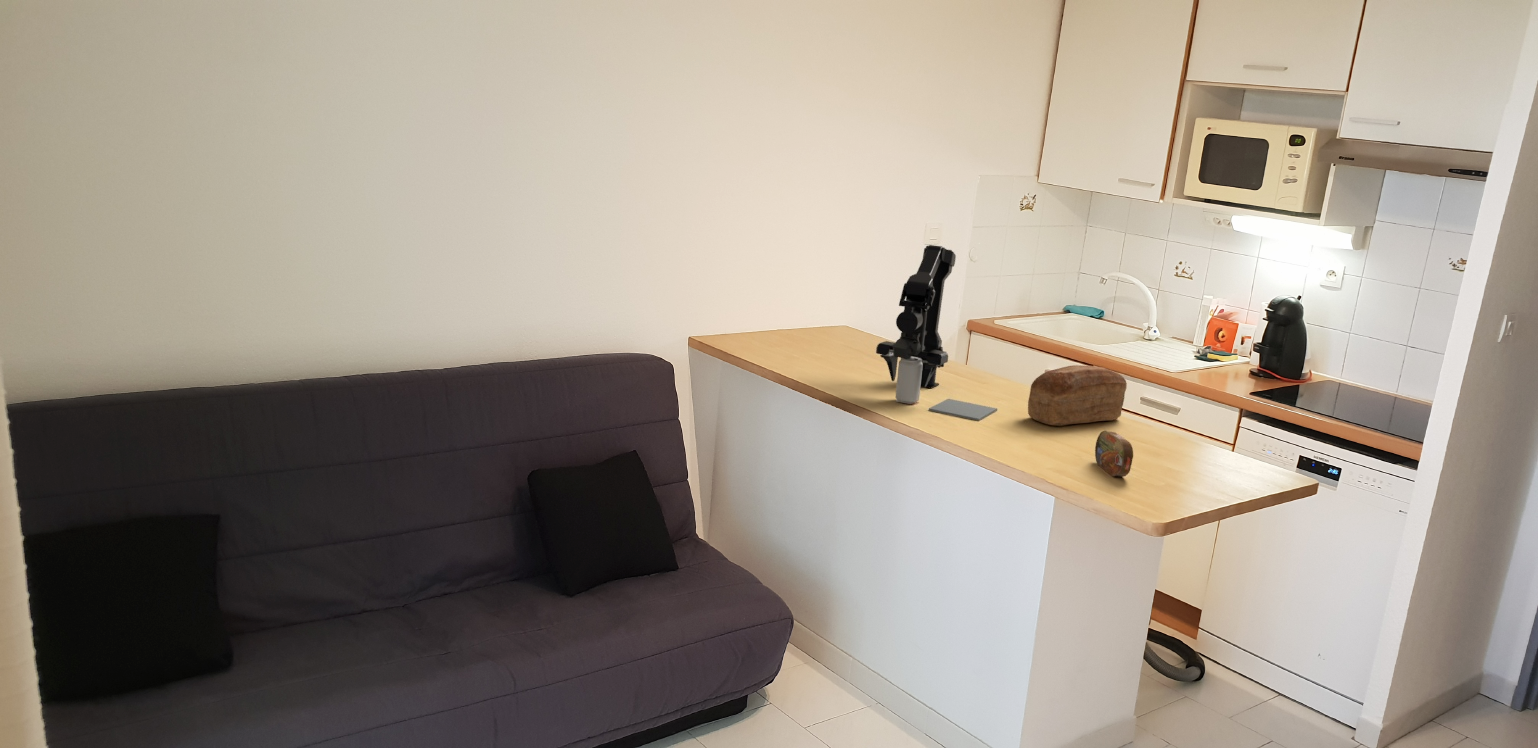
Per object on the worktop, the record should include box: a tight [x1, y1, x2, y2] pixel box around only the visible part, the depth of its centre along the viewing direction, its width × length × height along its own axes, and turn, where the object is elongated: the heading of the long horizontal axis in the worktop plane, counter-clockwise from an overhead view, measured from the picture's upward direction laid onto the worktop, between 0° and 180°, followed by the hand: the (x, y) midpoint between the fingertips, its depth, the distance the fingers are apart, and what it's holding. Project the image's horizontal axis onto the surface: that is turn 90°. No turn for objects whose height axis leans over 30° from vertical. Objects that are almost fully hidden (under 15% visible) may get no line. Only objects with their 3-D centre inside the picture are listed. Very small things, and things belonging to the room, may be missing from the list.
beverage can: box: [895, 356, 923, 405], centre depth 287 cm, size 6×6×12 cm
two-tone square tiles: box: [894, 399, 920, 406], centre depth 289 cm, size 3×6×1 cm, turn 59°
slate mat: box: [928, 398, 998, 422], centre depth 284 cm, size 14×14×1 cm
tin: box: [1094, 429, 1134, 478], centre depth 240 cm, size 15×3×8 cm, turn 5°
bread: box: [1027, 364, 1128, 427], centre depth 282 cm, size 12×28×14 cm, turn 120°
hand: (908, 383), depth 288 cm, fingers open, 9 cm apart
